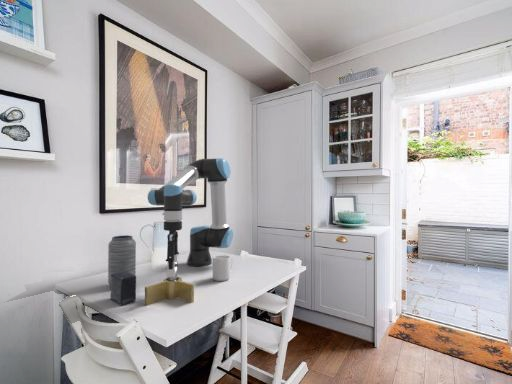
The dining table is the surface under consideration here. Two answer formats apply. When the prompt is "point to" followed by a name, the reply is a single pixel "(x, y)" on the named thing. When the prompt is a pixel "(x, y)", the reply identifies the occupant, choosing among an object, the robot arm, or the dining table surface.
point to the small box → (123, 288)
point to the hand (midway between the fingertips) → (172, 272)
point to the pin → (175, 273)
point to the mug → (222, 267)
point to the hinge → (169, 291)
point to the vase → (121, 255)
